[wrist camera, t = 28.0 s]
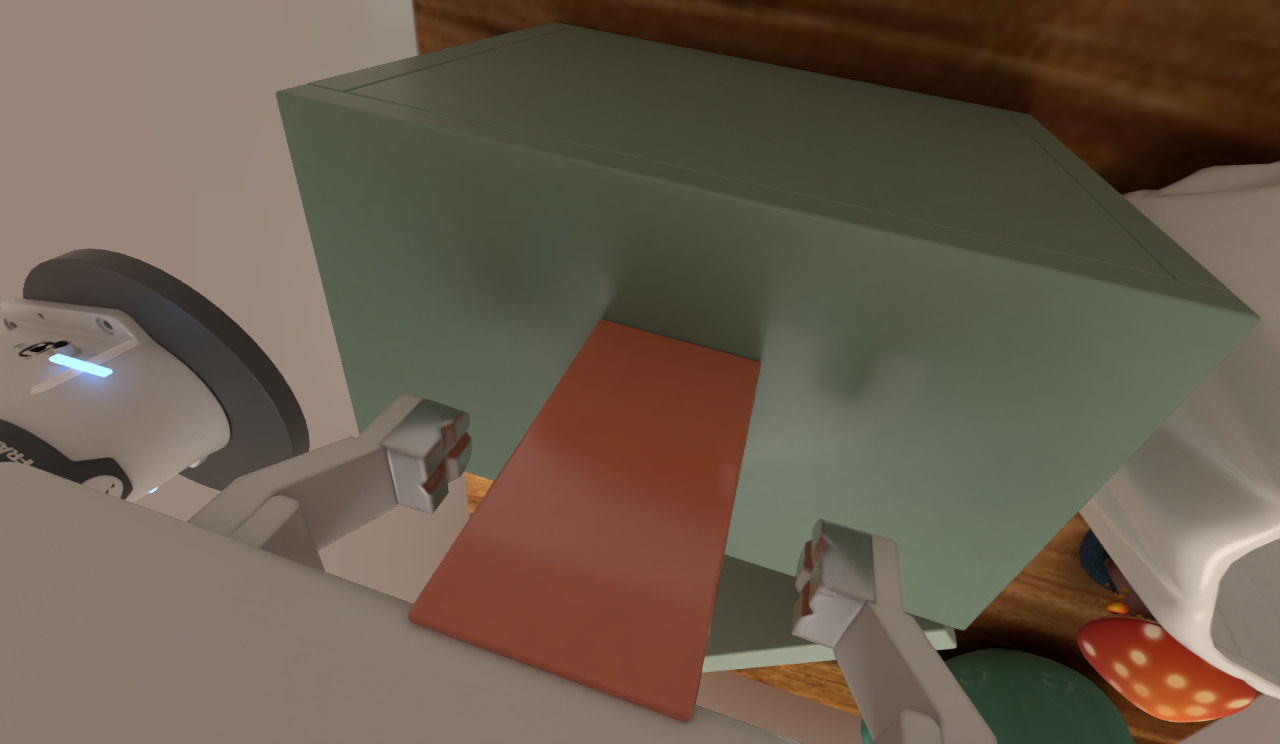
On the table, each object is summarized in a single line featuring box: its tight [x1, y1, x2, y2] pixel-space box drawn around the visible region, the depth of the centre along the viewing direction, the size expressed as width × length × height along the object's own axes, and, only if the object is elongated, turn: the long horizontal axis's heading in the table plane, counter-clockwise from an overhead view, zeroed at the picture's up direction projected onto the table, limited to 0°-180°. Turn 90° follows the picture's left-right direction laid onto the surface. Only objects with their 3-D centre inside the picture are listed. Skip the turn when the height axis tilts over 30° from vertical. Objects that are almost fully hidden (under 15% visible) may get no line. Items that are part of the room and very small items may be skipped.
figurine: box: [1077, 530, 1256, 722], centre depth 29 cm, size 12×9×8 cm
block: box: [408, 319, 761, 722], centre depth 12 cm, size 4×4×8 cm
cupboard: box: [276, 22, 1261, 630], centre depth 21 cm, size 11×20×16 cm, turn 82°
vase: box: [1079, 161, 1280, 699], centre depth 19 cm, size 14×14×15 cm
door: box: [702, 555, 957, 672], centre depth 30 cm, size 7×20×16 cm, turn 127°
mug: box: [861, 648, 1135, 744], centre depth 39 cm, size 17×13×10 cm
